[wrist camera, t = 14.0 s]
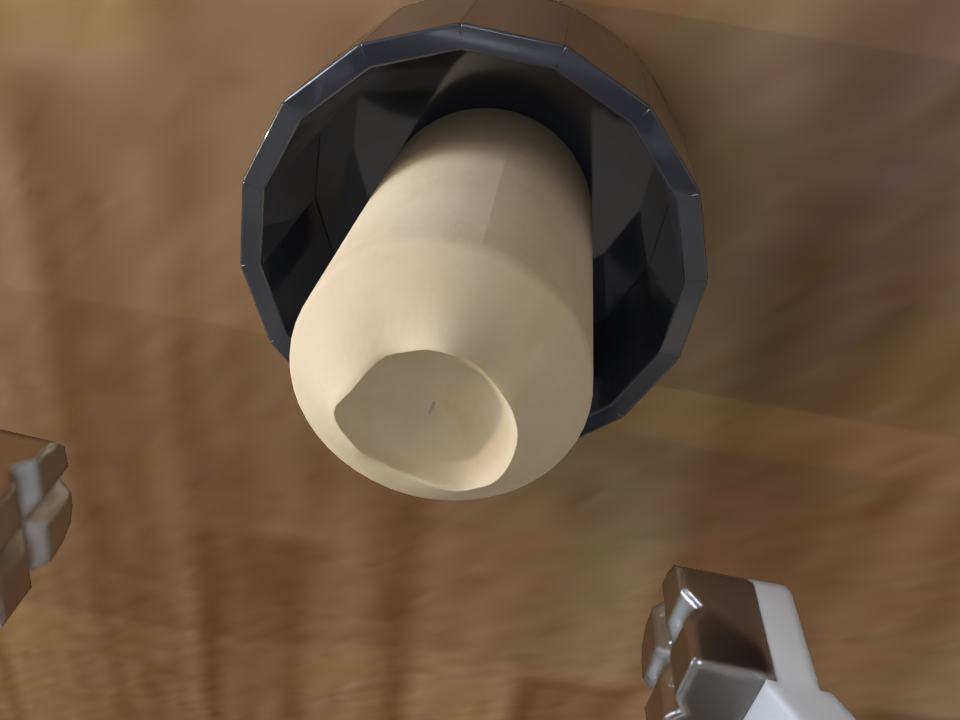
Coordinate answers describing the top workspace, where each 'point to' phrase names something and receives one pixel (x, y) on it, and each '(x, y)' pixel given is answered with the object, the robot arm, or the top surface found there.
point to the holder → (501, 85)
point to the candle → (457, 314)
